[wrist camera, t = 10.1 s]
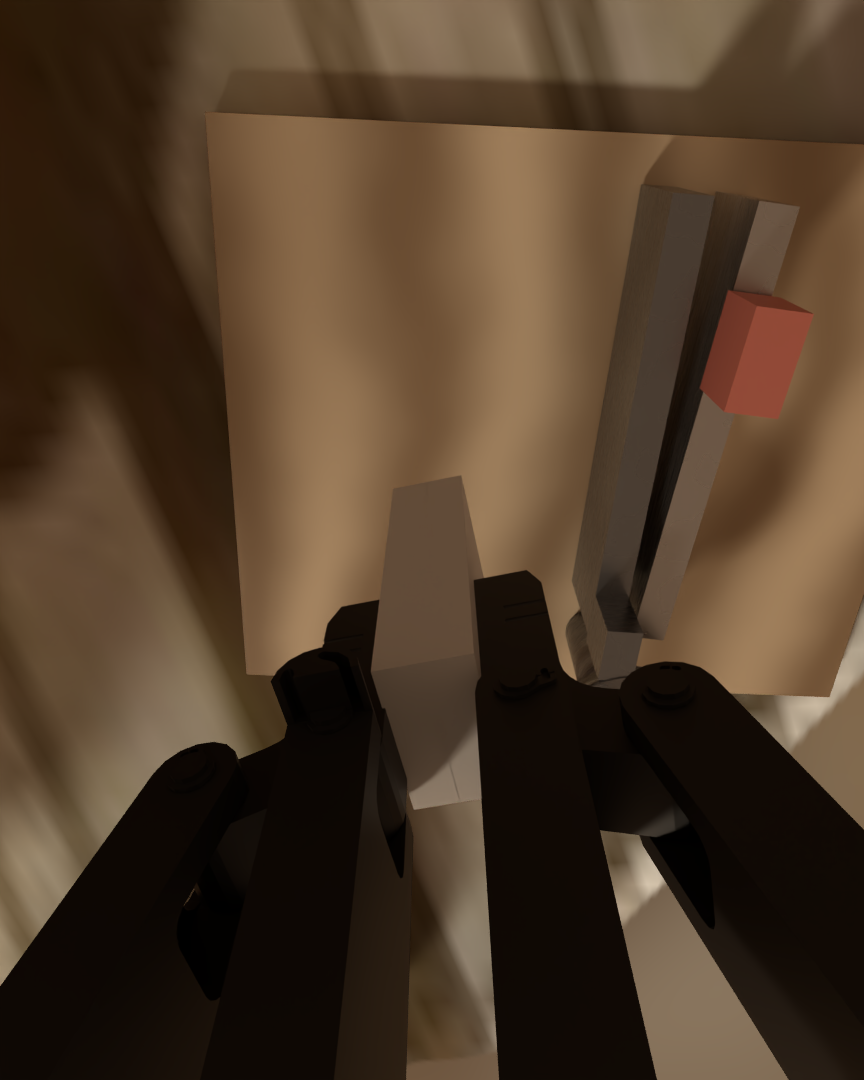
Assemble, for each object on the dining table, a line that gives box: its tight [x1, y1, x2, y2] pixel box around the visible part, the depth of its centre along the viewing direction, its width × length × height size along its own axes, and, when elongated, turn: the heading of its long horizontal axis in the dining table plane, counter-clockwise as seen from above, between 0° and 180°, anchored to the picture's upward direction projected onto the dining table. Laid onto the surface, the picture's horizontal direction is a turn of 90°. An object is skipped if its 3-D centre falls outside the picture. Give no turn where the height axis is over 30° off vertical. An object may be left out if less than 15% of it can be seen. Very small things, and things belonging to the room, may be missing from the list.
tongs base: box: [565, 191, 800, 682], centre depth 28 cm, size 19×3×5 cm, turn 173°
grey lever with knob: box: [572, 184, 715, 689], centre depth 28 cm, size 20×5×6 cm, turn 176°
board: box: [205, 112, 864, 697], centre depth 31 cm, size 26×22×1 cm
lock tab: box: [700, 290, 814, 419], centre depth 24 cm, size 3×2×2 cm, turn 173°
